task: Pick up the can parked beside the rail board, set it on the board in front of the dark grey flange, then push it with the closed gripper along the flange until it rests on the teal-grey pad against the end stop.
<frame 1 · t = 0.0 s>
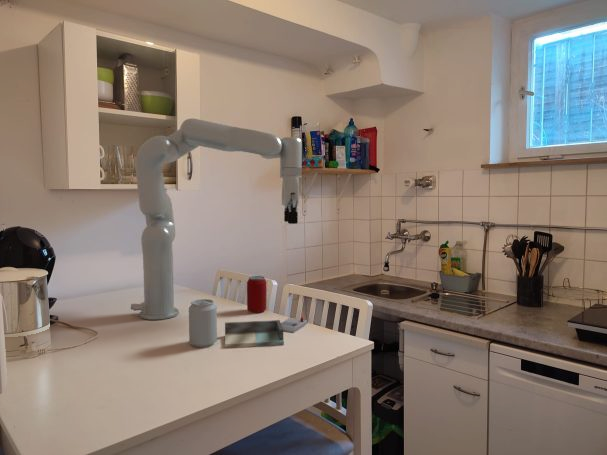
hand: (290, 222, 156), 31 cm above the table, fingers open, 9 cm apart
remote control: (292, 328, 140), on the table
beverage can: (256, 311, 157), on the table
can: (203, 344, 124), on the table
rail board: (253, 340, 127), on the table
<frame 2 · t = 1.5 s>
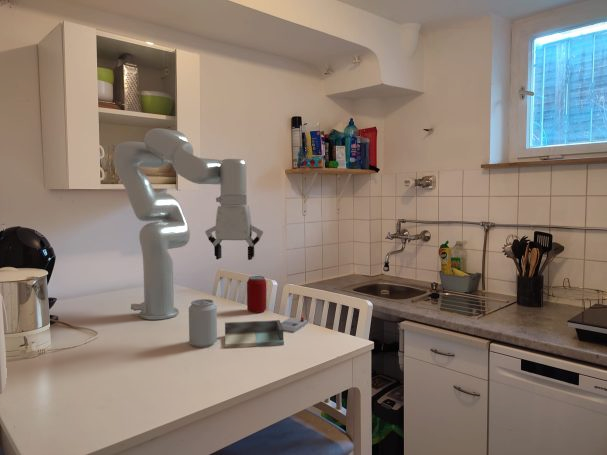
hand: (234, 259, 132), 22 cm above the table, fingers open, 9 cm apart
nothing on the table moved.
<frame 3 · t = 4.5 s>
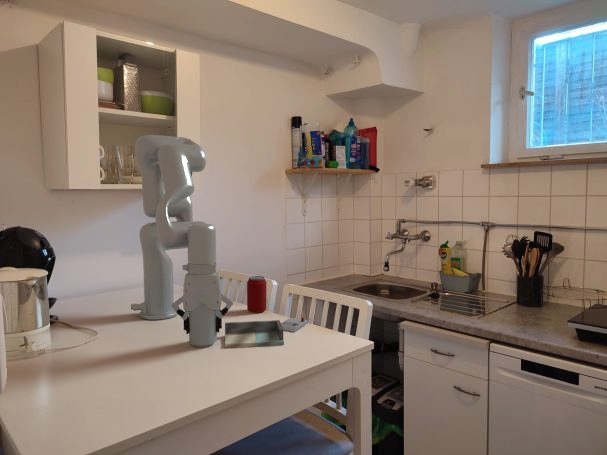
hand: (203, 331, 123), 3 cm above the table, fingers closed on can, 7 cm apart
can: (203, 344, 124), on the table, touching gripper
everything else where it was.
when the fingers open (6 cm above the table, at t = 10.0 s): can drops 1 cm, resting on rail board.
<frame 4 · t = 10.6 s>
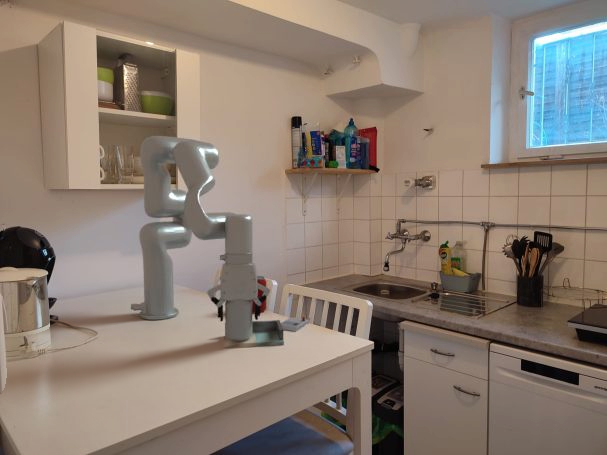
hand: (239, 319, 125), 6 cm above the table, fingers open, 9 cm apart
can: (239, 338, 125), point 1 cm above the table, touching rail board
everything else where it was.
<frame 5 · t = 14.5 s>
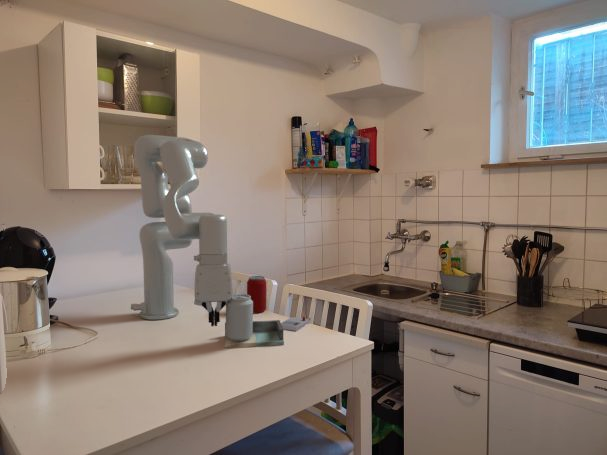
hand: (214, 324, 124), 5 cm above the table, fingers closed
can: (239, 338, 125), point 1 cm above the table, touching gripper, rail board
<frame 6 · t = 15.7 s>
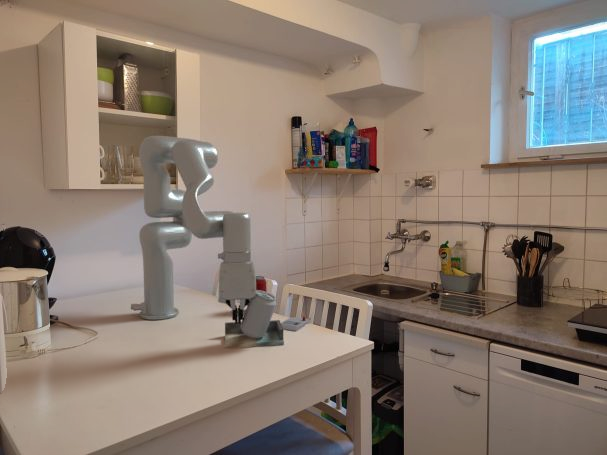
hand: (237, 322, 124), 6 cm above the table, fingers closed
can: (251, 333, 126), point 2 cm above the table, touching gripper, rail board
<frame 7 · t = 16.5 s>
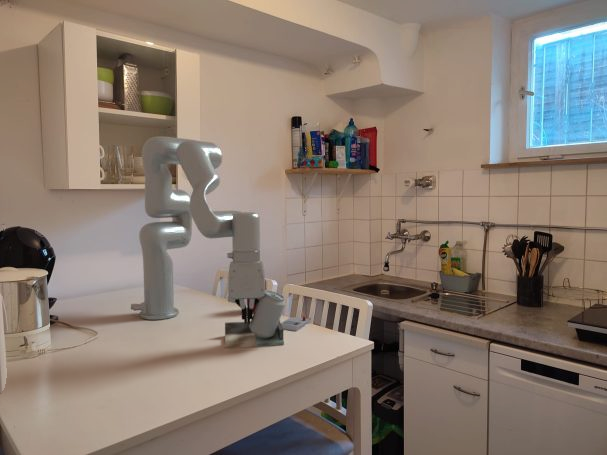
hand: (247, 321, 125), 6 cm above the table, fingers closed
can: (260, 333, 126), point 2 cm above the table, touching gripper, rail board
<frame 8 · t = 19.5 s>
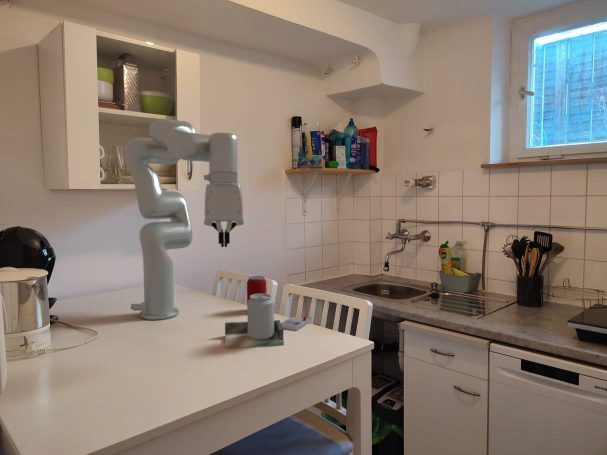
hand: (224, 246, 122), 27 cm above the table, fingers closed
can: (260, 337, 126), point 1 cm above the table, touching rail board
at the end: can inside the target area (1.5 cm from its centre), point 0.8 cm above the table; can tilted 0°; the gripper is holding nothing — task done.
